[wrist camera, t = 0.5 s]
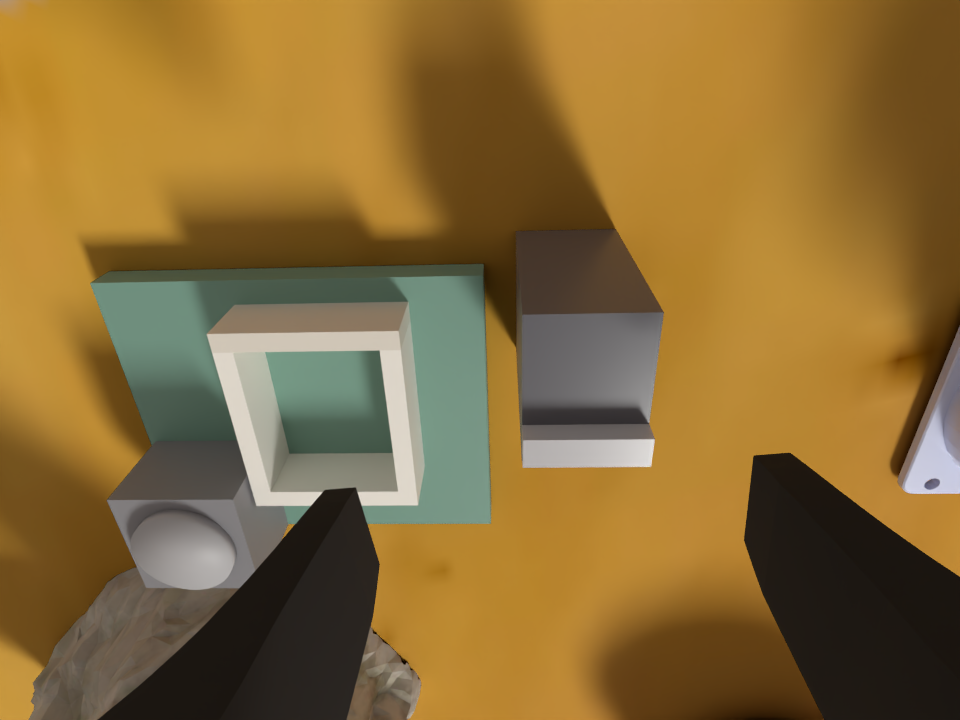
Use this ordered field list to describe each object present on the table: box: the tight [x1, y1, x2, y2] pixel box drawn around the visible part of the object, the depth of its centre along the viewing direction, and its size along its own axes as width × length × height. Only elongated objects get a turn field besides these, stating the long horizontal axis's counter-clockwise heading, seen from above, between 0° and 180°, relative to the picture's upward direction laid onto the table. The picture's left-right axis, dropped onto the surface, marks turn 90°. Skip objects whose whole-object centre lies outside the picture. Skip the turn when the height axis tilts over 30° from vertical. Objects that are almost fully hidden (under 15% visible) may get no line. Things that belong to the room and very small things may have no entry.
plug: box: [516, 229, 664, 468], centre depth 16 cm, size 3×4×7 cm
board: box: [90, 264, 491, 590], centre depth 19 cm, size 12×10×4 cm
